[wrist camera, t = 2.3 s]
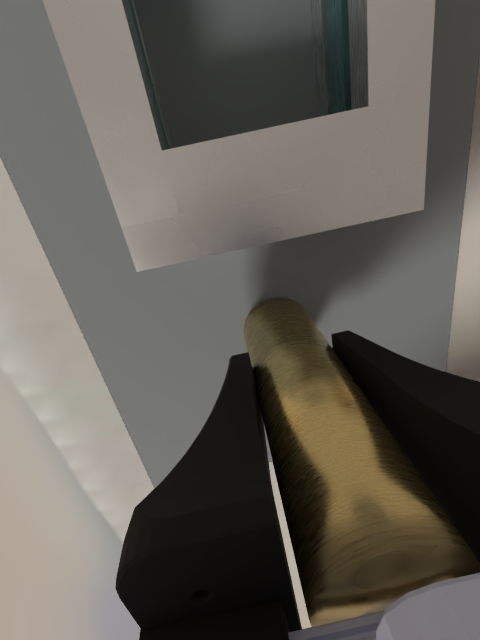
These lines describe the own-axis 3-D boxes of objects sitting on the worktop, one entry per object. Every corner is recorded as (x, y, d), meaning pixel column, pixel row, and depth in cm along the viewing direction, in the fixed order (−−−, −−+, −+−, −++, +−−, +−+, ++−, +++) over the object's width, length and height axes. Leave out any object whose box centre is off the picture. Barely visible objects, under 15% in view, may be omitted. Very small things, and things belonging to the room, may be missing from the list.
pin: (313, 350, 15) (472, 622, 6) (249, 364, 15) (317, 657, 6) (307, 290, 14) (496, 527, 5) (237, 306, 14) (300, 571, 5)
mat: (434, 418, 19) (440, 424, 18) (155, 479, 18) (153, 487, 18) (521, -491, 7) (542, -533, 7) (-218, -340, 7) (-246, -373, 7)
